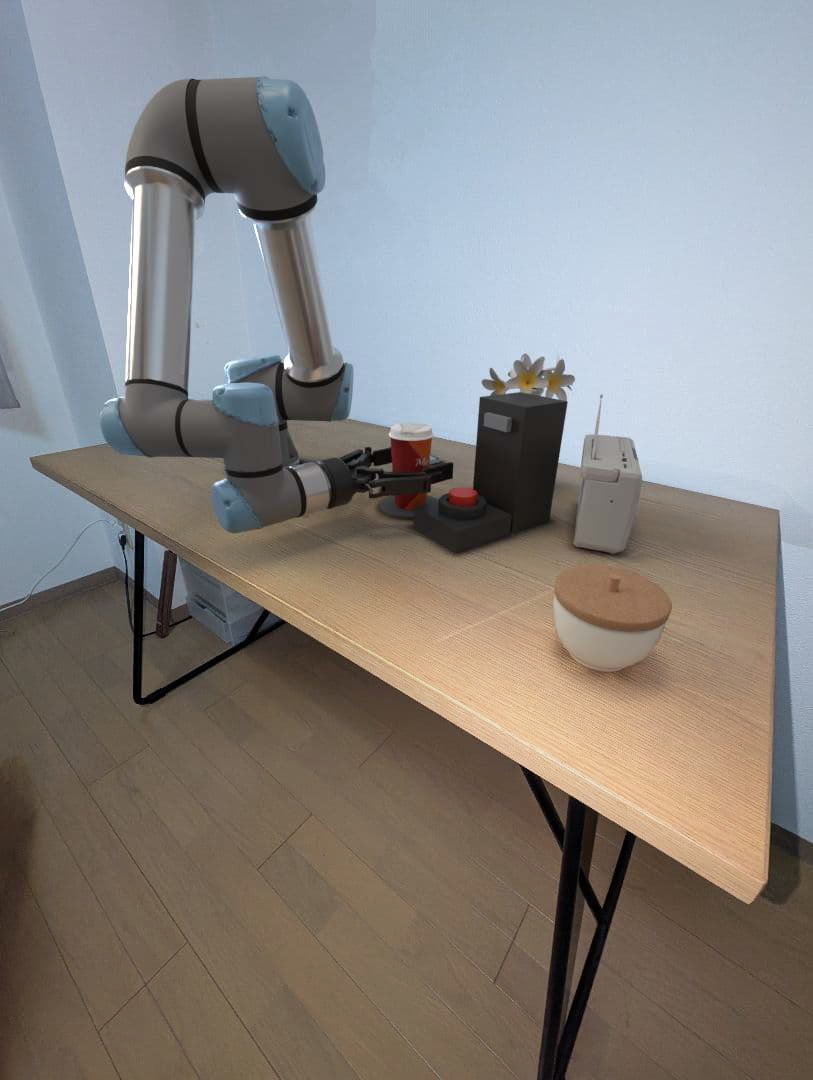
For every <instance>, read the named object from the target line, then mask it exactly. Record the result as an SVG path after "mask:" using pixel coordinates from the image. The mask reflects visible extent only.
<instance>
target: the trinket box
mask: <svg viewBox="0 0 813 1080" xmlns="http://www.w3.org/2000/svg"><path fill="white" fill-rule="evenodd" d="M672 609H673V605H672V601H671V598H670V596H669V594H668V593H667V592H666V591H665V590H664V589H663V588H662V587H661V586H660V585H658V584H657V583H656V582H654V581H653V580H651V579H649V578H647V577H645V576H644V575H641V574H639V573H636V572H634V571H631V570H628V569H625V568H621V567H616V566H613V565H612V566H611V565H603V564H602V565H601V564H581V565H576V566H572V567H569V568H567V569H564V570H562V572H561V573H560V574H559V575H557V577H556V579H555V583H554V595H553V603H552V618H553V619H552V620H553V627H554V630H555V634H556V636H557V637H558V640H559V641H560V644H562V646H563V647H564V649H565V650H566V651H567V652H568V654H569V655H570V657H571V658H572V659H573V660H574V661H576V662H577V663H578V664H580V665H581V666H583V667H584V668H588V669H590V670H592V671H597V672H602V673H613V672H618V671H621V670H623V669H625V668H628V667H633V666H634V665H636V664H638V663H640V662H642V661H643V660H644V659H646V658H647V657H648V656H649V655H650V654H651V653H652V652H653V650H654V648H655V647H656V645H657V644H658V643H659V641H660V638H661V637H662V634H663V632H664V629H665V626H666V623H667V621H668V620H669V618H670V615H671V613H672Z"/></svg>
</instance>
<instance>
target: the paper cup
mask: <svg viewBox="0 0 813 1080" xmlns="http://www.w3.org/2000/svg"><path fill="white" fill-rule="evenodd" d="M434 436H435V434H434V432H433V429H432V426H430V425H428V424H425V423H420V422H419V423H418V422H402V423H395V424H393V425H392V426H391V427H390V431H389V432H388V437H389V438H390V447H391V453H392V463H391V466H392V468H391V469H392V472H421V469H424V468H428V467H430V465H431V464H430V454H431V455H432V442H433V438H434ZM427 496H428V493H418V494H406V495H394V497H395V505H396V507H398V508H400V509H403V510H414V507H416V506H420V505H424V504H426V498H427Z"/></svg>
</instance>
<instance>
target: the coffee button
mask: <svg viewBox="0 0 813 1080" xmlns="http://www.w3.org/2000/svg"><path fill="white" fill-rule="evenodd" d="M448 493H449V503H450V504H452V505H457V506H472V505H476V504H477V491H475V490H473V488H470V487H453V488H451V489H450V490H449V492H448Z"/></svg>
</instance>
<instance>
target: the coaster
mask: <svg viewBox="0 0 813 1080" xmlns="http://www.w3.org/2000/svg"><path fill="white" fill-rule="evenodd" d="M436 501H439V499H437V498H435V497H433V496H430V495H427V498H426V504H428V503H432V502H436ZM379 507H380V511H381V512H382V513H383V514H385V515H387V516H389V517H391V518H396V519H399V520H400V519H401V520H414V510H403V509H400V508H398V507H396V505H395V497H394V495H393V496H386V498H384V499H383V500H381V502H380V504H379Z"/></svg>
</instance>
